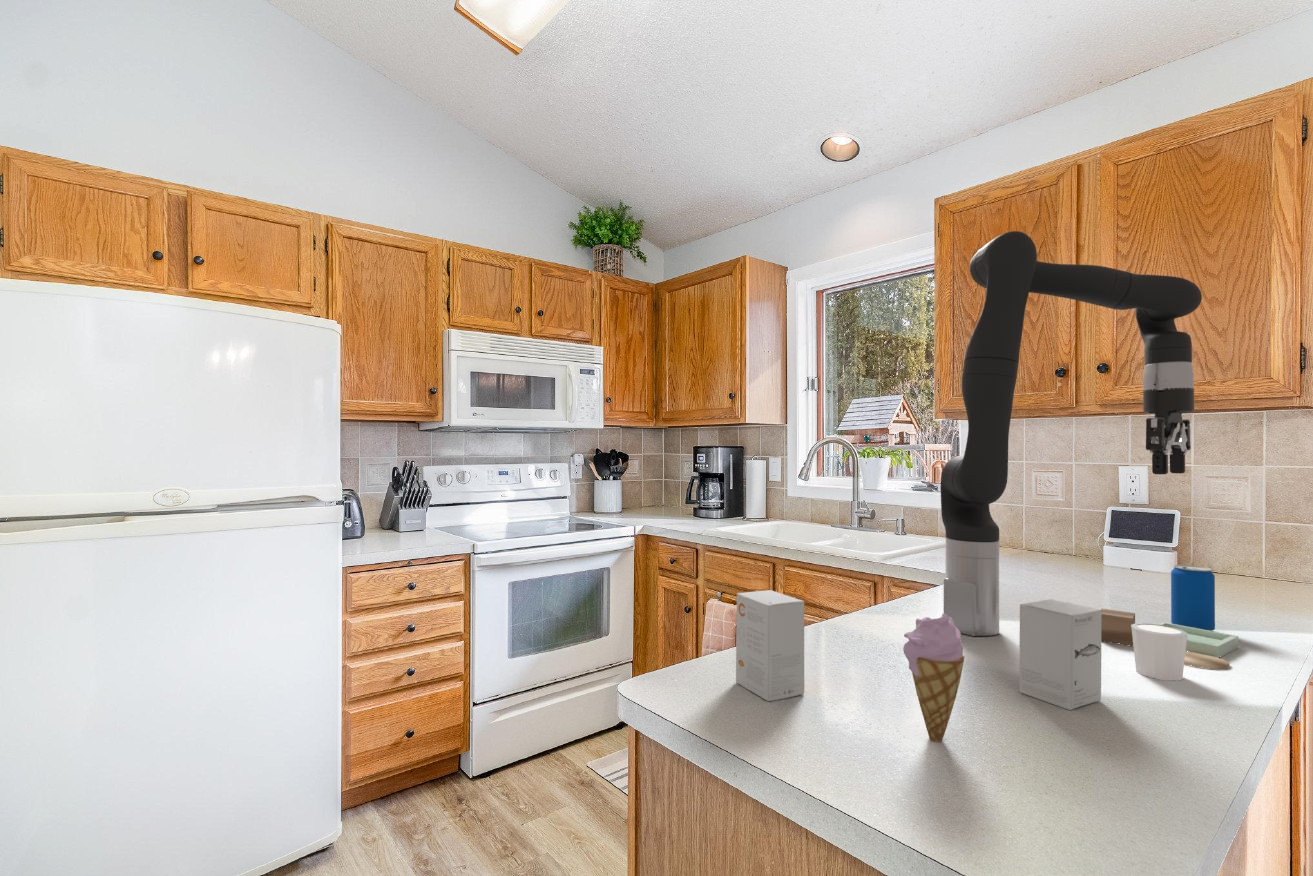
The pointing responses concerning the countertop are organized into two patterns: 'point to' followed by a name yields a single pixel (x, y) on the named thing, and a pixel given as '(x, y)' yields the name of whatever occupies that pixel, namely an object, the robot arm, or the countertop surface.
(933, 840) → the countertop surface
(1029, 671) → the supplement box
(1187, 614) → the beverage can
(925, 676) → the ice cream cone
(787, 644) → the small box
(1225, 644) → the tray
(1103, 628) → the walnut block
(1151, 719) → the countertop surface
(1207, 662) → the cork coaster
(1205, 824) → the countertop surface
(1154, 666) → the white cup
